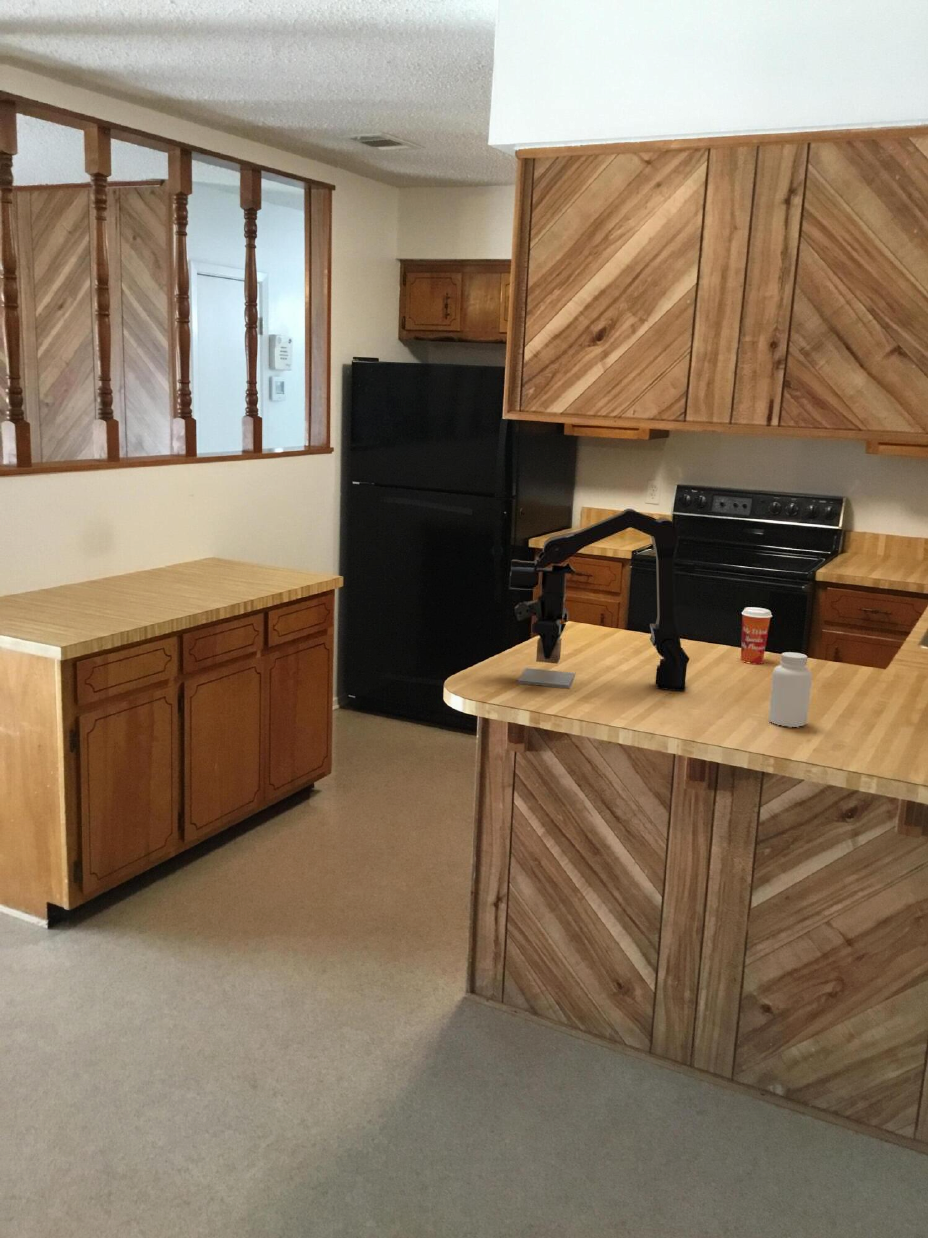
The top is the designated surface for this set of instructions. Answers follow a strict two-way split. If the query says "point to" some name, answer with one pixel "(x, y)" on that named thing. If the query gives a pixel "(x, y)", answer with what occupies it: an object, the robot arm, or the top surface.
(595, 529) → the robot arm
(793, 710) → the pill bottle
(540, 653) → the walnut block
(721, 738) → the top surface
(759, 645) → the paper cup
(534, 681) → the plate
